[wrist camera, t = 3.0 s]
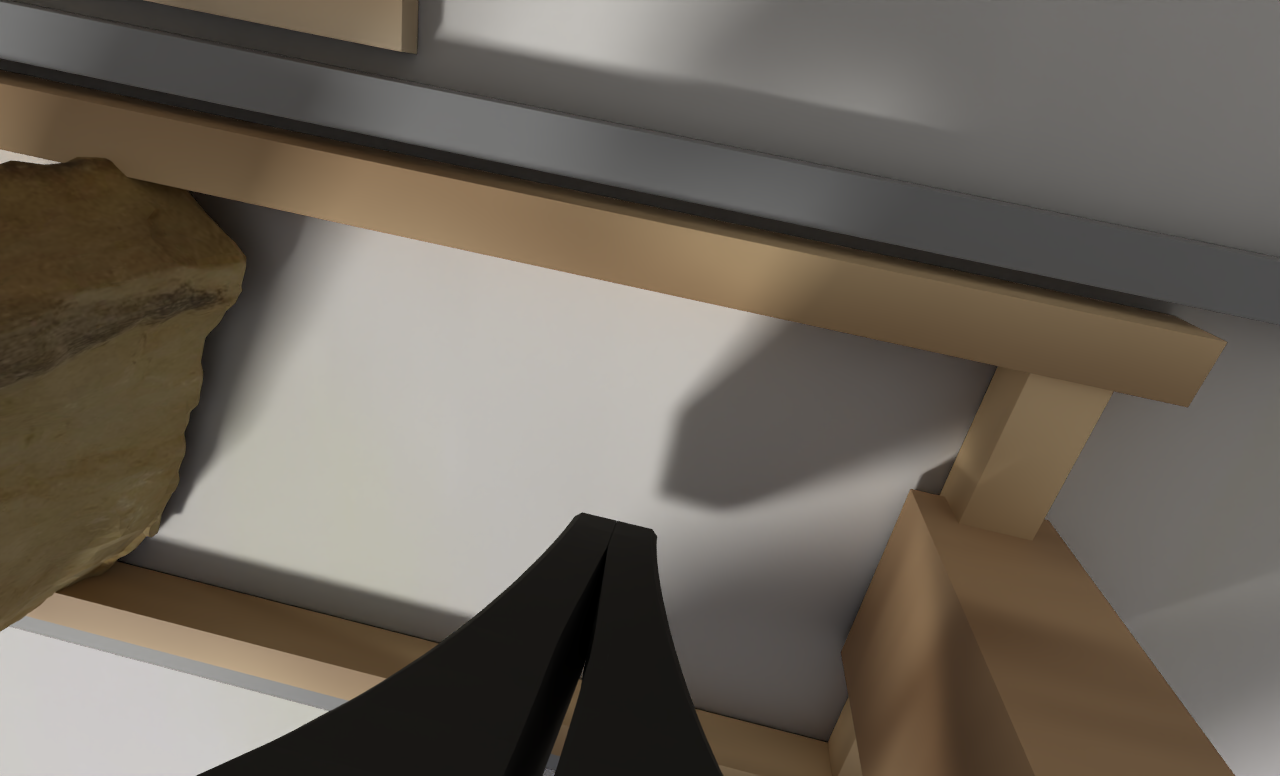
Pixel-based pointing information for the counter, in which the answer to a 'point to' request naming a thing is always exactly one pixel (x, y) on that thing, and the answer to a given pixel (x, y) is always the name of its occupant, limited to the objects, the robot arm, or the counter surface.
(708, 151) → the rails
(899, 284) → the oak sled
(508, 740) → the robot arm
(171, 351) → the rock
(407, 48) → the maple strip
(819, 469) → the counter surface
